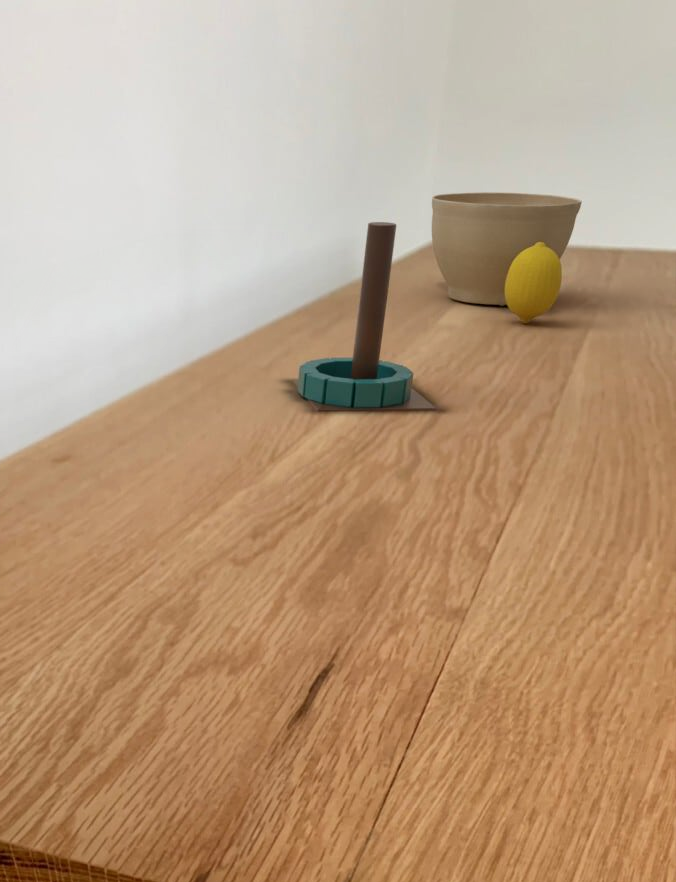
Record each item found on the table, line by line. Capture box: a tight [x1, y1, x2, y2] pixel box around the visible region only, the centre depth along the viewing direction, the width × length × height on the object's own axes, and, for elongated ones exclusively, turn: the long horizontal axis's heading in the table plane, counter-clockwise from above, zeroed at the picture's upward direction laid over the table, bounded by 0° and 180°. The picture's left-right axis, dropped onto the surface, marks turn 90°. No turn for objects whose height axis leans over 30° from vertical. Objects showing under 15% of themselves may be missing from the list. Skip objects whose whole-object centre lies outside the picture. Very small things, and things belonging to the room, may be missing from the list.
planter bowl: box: [431, 191, 583, 307], centre depth 127 cm, size 16×16×11 cm
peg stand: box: [292, 221, 437, 413], centre depth 83 cm, size 9×9×14 cm
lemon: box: [505, 242, 563, 324], centre depth 116 cm, size 6×6×8 cm
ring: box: [296, 357, 414, 408], centre depth 85 cm, size 8×8×2 cm
